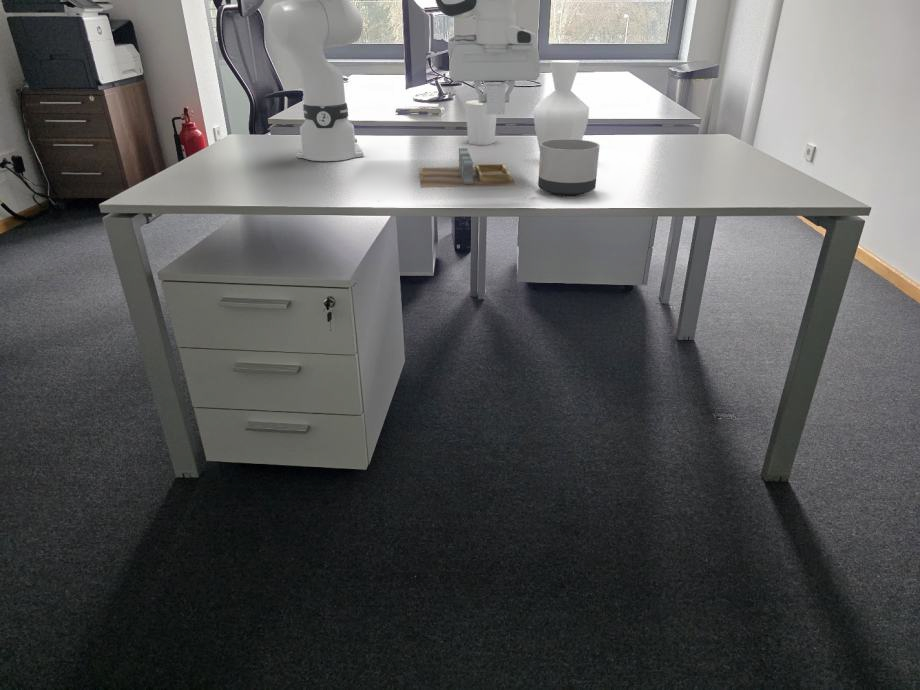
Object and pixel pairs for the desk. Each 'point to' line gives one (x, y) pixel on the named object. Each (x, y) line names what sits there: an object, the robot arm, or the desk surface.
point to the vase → (561, 107)
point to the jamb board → (456, 178)
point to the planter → (568, 166)
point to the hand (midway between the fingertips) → (493, 102)
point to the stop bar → (494, 98)
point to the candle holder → (479, 124)
